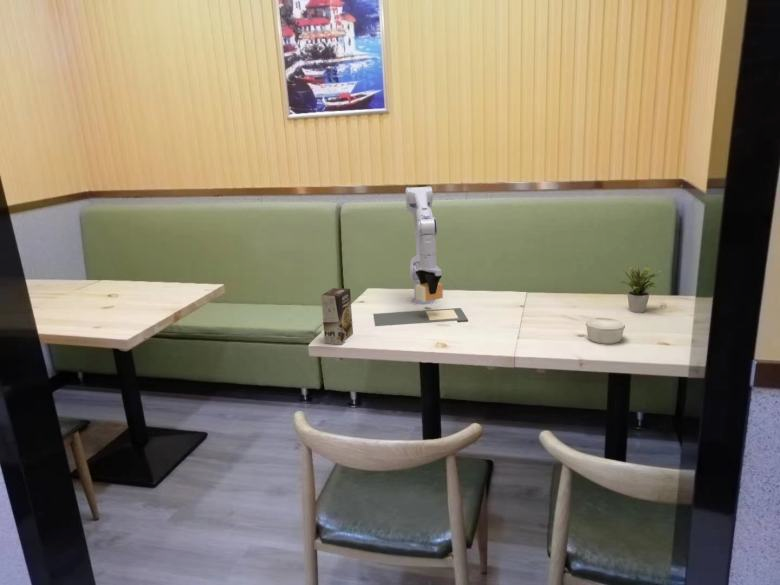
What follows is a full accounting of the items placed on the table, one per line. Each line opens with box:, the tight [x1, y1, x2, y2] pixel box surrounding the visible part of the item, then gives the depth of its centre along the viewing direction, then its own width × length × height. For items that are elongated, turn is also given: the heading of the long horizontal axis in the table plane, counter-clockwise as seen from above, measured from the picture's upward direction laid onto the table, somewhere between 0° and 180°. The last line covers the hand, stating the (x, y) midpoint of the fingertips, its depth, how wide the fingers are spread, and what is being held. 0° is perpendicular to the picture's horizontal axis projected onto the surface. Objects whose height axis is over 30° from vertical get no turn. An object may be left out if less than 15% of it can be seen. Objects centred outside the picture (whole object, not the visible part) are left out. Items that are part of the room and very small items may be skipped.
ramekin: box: [585, 317, 626, 345], centre depth 177 cm, size 11×11×5 cm
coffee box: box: [320, 287, 354, 346], centre depth 187 cm, size 9×6×16 cm
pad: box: [426, 310, 458, 321], centre depth 206 cm, size 10×10×1 cm
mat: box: [372, 307, 469, 327], centre depth 206 cm, size 14×32×1 cm, turn 94°
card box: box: [416, 282, 444, 302], centre depth 204 cm, size 8×5×5 cm, turn 117°
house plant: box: [619, 264, 662, 314], centre depth 199 cm, size 14×14×16 cm
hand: (429, 292), depth 204 cm, fingers closed on card box, 5 cm apart
